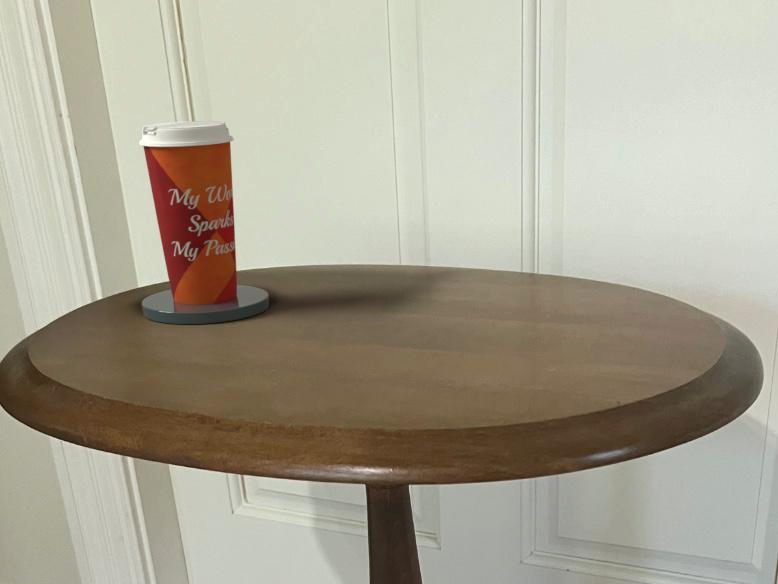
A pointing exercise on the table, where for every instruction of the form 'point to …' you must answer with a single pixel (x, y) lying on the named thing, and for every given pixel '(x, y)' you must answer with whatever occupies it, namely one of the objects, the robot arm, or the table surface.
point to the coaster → (205, 307)
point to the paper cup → (194, 207)
